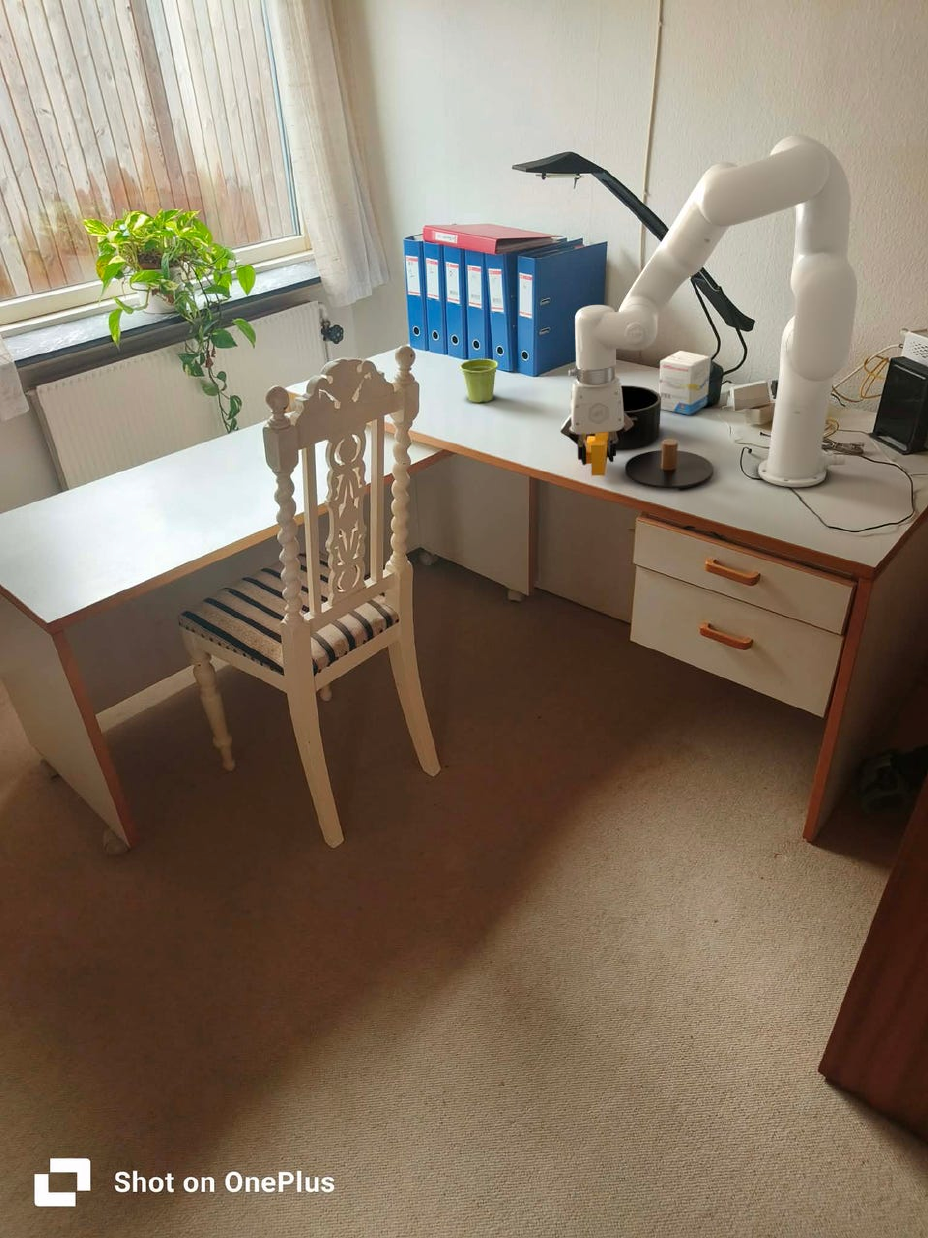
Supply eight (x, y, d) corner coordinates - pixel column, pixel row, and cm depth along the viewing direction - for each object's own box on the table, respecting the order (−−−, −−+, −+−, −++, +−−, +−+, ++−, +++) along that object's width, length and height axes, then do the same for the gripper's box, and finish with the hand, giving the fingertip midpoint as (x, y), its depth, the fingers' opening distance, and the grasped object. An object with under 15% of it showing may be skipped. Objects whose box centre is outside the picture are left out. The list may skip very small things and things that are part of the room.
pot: (648, 414, 203) (649, 378, 199) (669, 451, 185) (671, 413, 181) (577, 419, 204) (577, 384, 199) (592, 457, 186) (592, 419, 181)
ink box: (708, 404, 206) (712, 355, 199) (689, 415, 201) (693, 365, 194) (676, 397, 211) (679, 349, 204) (657, 408, 206) (659, 359, 199)
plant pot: (506, 394, 221) (505, 360, 216) (487, 407, 214) (485, 372, 210) (475, 390, 225) (473, 356, 220) (455, 402, 219) (452, 368, 214)
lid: (700, 452, 184) (702, 421, 180) (722, 487, 170) (726, 455, 166) (617, 458, 184) (618, 428, 181) (633, 494, 170) (635, 463, 166)
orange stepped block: (587, 450, 184) (587, 421, 180) (608, 450, 183) (608, 421, 179) (582, 475, 174) (582, 444, 171) (604, 475, 173) (604, 444, 170)
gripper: (554, 384, 165) (557, 472, 175) (644, 375, 165) (642, 464, 175) (549, 371, 171) (553, 457, 182) (636, 362, 171) (635, 449, 181)
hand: (596, 459), depth 178 cm, fingers closed on orange stepped block, 4 cm apart
